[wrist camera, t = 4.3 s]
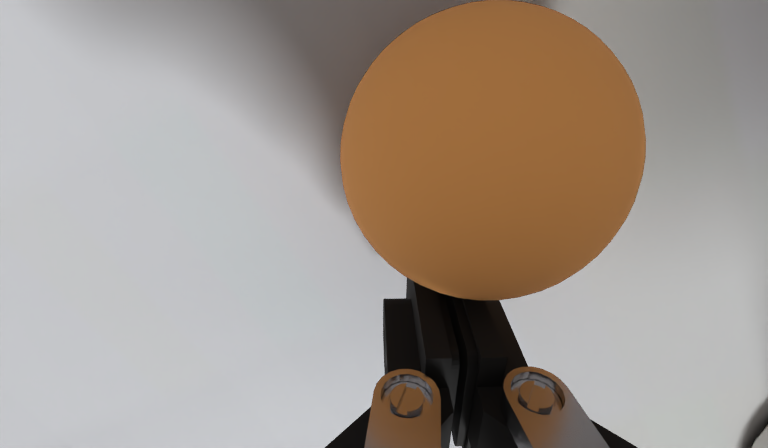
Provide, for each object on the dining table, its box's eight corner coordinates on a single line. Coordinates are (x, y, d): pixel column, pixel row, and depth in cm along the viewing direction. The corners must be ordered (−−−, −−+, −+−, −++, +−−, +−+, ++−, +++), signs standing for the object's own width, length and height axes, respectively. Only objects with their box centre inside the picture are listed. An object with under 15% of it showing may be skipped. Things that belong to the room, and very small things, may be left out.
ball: (560, 102, 12) (722, -79, 6) (563, 307, 11) (760, 315, 5) (359, 91, 12) (337, -100, 6) (343, 293, 11) (299, 286, 5)
